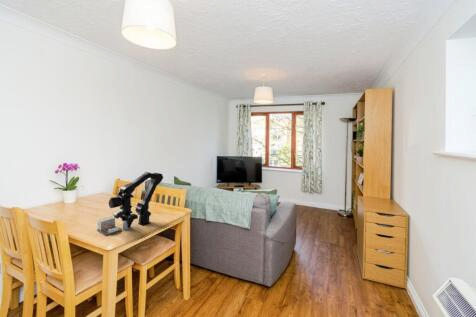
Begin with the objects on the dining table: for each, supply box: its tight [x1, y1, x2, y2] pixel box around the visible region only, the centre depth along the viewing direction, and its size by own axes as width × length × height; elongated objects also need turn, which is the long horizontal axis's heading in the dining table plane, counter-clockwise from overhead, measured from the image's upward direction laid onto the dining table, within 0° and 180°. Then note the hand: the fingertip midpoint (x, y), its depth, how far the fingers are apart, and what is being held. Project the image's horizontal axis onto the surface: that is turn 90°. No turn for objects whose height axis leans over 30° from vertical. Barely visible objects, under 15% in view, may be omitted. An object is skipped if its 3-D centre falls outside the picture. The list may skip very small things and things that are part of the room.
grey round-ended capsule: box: [122, 220, 132, 231], centre depth 158 cm, size 5×5×6 cm
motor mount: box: [96, 216, 123, 237], centre depth 154 cm, size 10×13×7 cm
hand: (127, 226), depth 158 cm, fingers closed on grey round-ended capsule, 5 cm apart
